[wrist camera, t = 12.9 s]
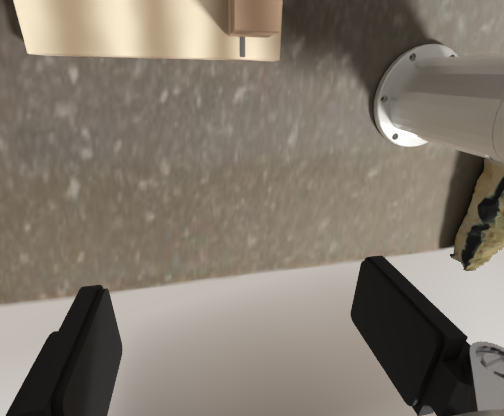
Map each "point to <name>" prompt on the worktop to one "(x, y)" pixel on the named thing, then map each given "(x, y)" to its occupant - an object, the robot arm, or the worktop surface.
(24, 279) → the worktop surface
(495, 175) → the mineral
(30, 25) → the birch board
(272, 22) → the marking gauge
